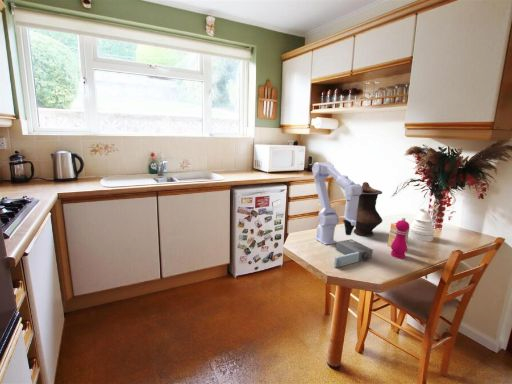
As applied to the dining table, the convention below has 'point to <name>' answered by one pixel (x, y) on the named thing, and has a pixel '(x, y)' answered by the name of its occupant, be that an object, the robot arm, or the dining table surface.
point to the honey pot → (422, 227)
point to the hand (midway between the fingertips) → (348, 234)
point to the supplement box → (394, 234)
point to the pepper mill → (400, 239)
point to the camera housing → (354, 249)
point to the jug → (367, 211)
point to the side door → (346, 259)
